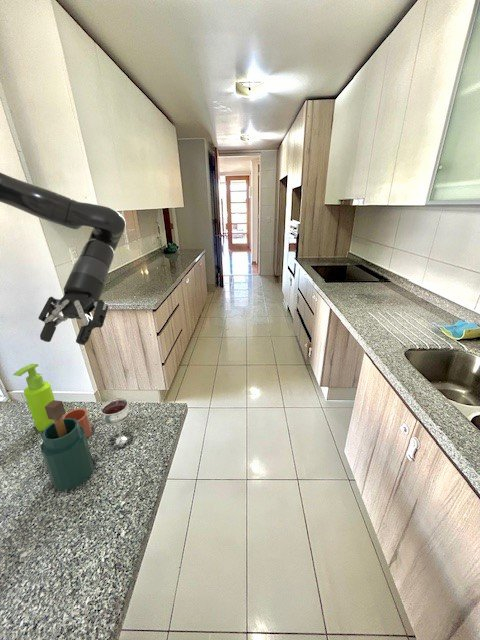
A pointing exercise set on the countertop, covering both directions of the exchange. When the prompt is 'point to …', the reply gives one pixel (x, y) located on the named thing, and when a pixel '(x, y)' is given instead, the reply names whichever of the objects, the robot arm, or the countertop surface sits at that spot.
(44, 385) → the soap dispenser
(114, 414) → the wineglass
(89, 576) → the countertop surface
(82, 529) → the countertop surface
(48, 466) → the bottle
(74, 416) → the brush cup
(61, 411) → the brush
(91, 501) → the countertop surface
